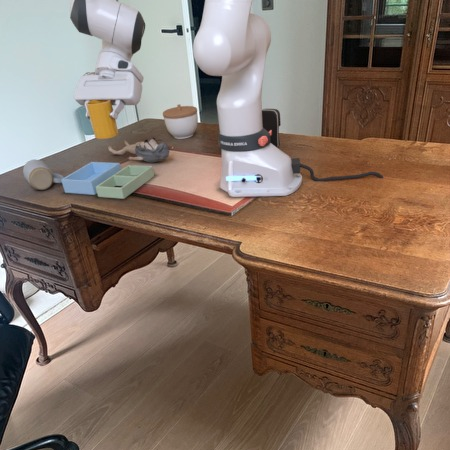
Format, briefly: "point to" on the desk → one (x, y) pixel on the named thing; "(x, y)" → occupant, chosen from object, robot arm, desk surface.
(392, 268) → the desk surface
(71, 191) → the open storage box
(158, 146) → the anime figure
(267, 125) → the battery charger
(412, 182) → the desk surface
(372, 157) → the desk surface
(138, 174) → the divided storage tray
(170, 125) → the lidded bowl
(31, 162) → the ceramic mug
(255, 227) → the desk surface
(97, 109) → the tumbler
